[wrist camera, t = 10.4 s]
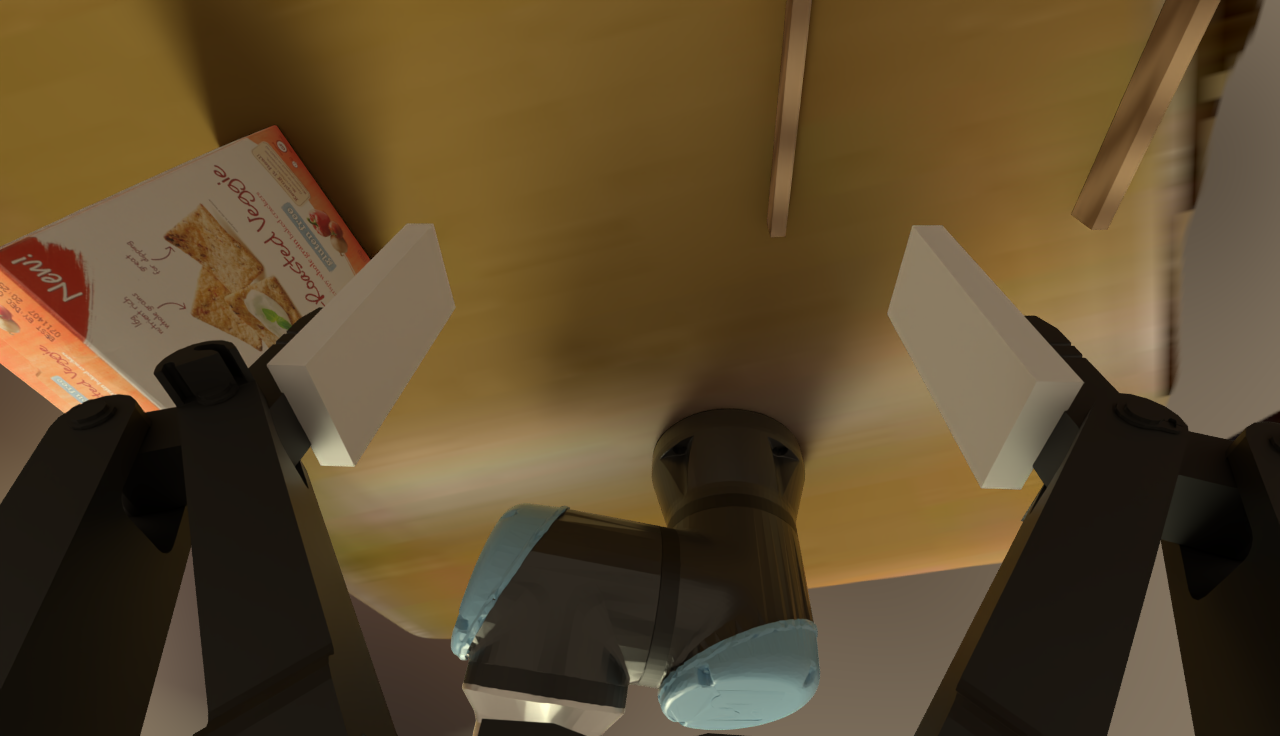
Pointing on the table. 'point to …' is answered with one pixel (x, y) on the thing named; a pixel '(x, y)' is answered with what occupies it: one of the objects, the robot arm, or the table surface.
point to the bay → (1119, 153)
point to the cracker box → (172, 273)
